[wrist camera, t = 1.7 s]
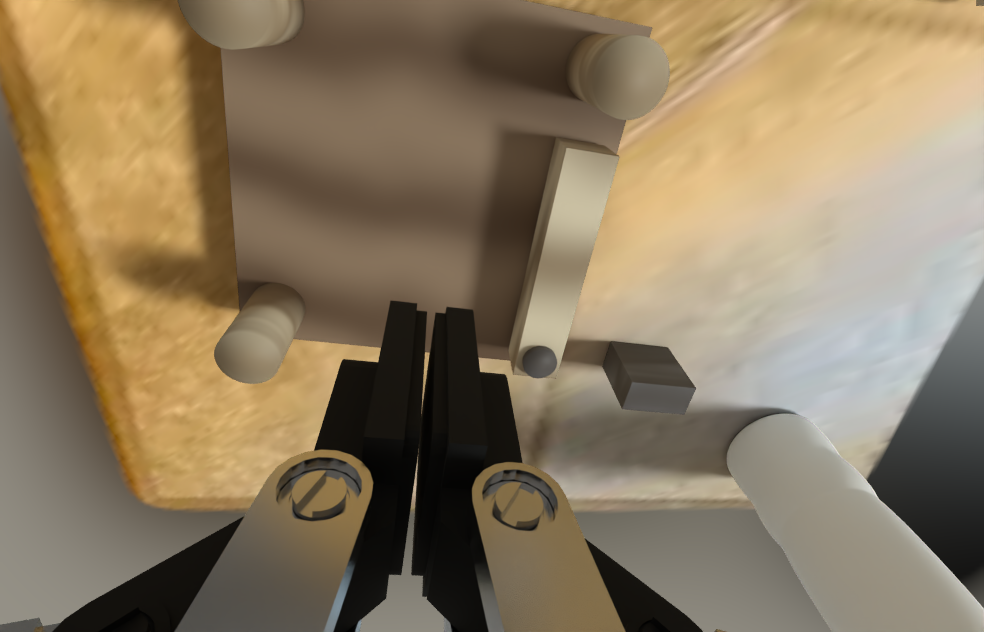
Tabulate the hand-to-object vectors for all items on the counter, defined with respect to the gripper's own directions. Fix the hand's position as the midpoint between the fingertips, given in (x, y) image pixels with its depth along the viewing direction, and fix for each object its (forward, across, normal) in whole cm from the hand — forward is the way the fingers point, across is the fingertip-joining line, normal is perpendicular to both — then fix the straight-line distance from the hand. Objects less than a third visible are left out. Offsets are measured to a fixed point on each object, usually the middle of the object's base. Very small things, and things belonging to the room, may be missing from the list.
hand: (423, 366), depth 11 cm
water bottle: (+19, -28, +17) cm, 38 cm away
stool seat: (+19, -4, +2) cm, 19 cm away
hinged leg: (+16, -7, +3) cm, 18 cm away
